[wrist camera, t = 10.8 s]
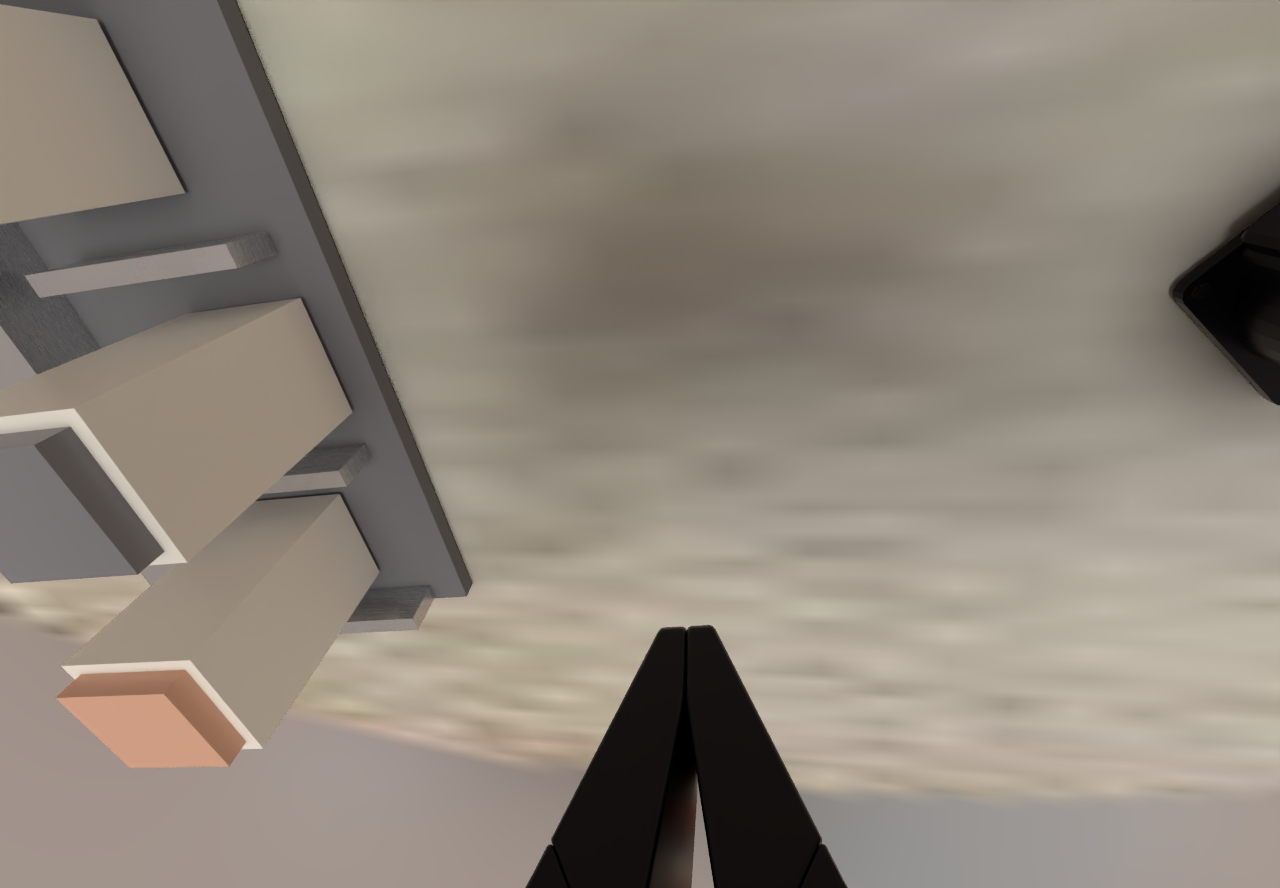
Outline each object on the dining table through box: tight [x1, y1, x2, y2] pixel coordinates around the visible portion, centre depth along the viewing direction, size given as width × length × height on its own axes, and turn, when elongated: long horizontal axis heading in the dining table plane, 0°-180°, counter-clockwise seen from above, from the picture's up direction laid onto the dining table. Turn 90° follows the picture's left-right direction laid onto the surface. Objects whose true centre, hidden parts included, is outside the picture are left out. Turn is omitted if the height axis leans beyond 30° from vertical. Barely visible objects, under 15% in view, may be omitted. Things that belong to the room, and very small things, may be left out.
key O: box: [56, 494, 379, 768], centre depth 21 cm, size 4×4×9 cm
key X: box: [0, 298, 352, 583], centre depth 16 cm, size 4×4×9 cm
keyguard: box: [0, 222, 435, 634], centre depth 20 cm, size 10×24×2 cm, turn 8°
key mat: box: [0, 0, 472, 598], centre depth 21 cm, size 12×24×1 cm, turn 9°
